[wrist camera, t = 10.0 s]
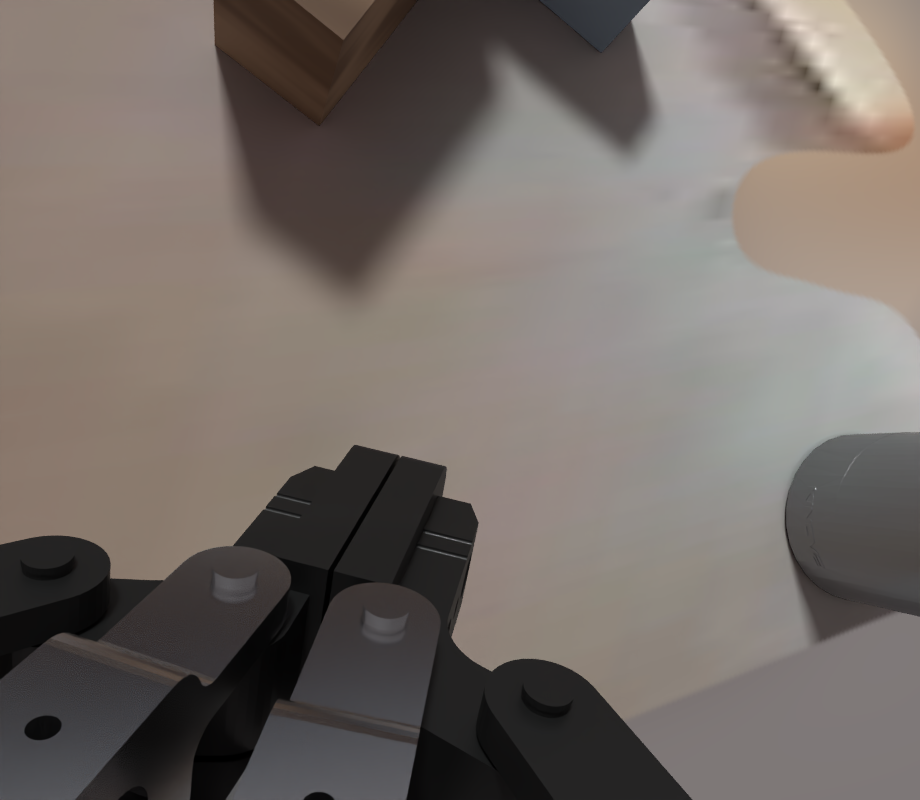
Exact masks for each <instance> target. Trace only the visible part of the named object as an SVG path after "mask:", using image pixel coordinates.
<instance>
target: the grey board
mask: <svg viewBox="0 0 920 800" xmlns="http://www.w3.org/2000/svg"><path fill="white" fill-rule="evenodd" d="M540 1H541V2H542V3H543V4H545V5H546V6H547V7H548V8H549V9H550V10H552V11H553V12H554V13H555V14H556V15H557V16H559V17H560V18H561V19H562V20H563V21H564V22H566V23H567V24H568V25H569V26H570V27H571V28H573V29H574V30H575V31H576V32H577V33H578V34H580V35H581V36H582V37H583V38H584V39H586V40H587V41H588V42H589V43H590V44H591V45H593V46H594V47H595V48H596V49H597V50H598V51H600V52H602V51H603V50H604V49H605V48H606V47H607V46H608V45H609V44H610V43H611V42H612V41H613V39H614V38H615V37H616V36H617V35H618V34H619V33H620V32H621V31H622V30H623V29H624V28H625V27H626V25H627V24H628V23H629V22H630V21H631V20H632V19H633V18H634V17H635V16H636V15H637V14H638V13H639V11H640V10H641V9H642V8H643V7H644V6H645V5H646V4H647V3H648V2H649V1H650V0H540Z"/></svg>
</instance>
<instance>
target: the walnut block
mask: <svg viewBox="0 0 920 800" xmlns="http://www.w3.org/2000/svg"><path fill="white" fill-rule="evenodd" d="M417 1H418V0H214V31H215V45H216V46H217V47H218V48H220V49H221V50H222V51H223V52H225V53H226V54H227V55H229V56H230V57H231V58H232V59H234V60H235V61H236V62H238V63H239V64H240V65H241V66H243V67H244V68H245V69H247V70H248V71H249V72H250V73H252V74H253V75H254V76H256V77H257V78H258V79H259V80H261V81H262V82H263V83H265V84H266V85H267V86H268V87H270V88H271V89H272V90H274V91H275V92H276V93H277V94H279V95H280V96H281V97H283V98H284V99H285V100H286V101H288V102H289V103H290V104H292V105H293V106H294V107H295V108H297V109H298V110H299V111H301V112H302V113H303V114H304V115H306V116H307V117H308V118H310V119H311V120H312V121H313V122H315V123H316V124H317V125H319V126H320V124H321V123H322V122H323V121H324V119H325V118H326V117H327V116H328V114H329V113H330V112H331V110H332V109H333V108H334V107H335V105H336V104H337V103H338V102H339V100H340V99H341V98H342V96H343V95H344V94H345V93H346V91H347V90H348V89H349V87H350V86H351V85H352V84H353V82H354V81H355V80H356V79H357V77H358V76H359V75H360V73H361V72H362V71H363V70H364V68H365V67H366V66H367V64H368V63H369V62H370V61H371V59H372V58H373V57H374V56H375V54H376V53H377V52H378V50H379V49H380V48H381V47H382V45H383V44H384V43H385V42H386V40H387V39H388V38H389V36H390V35H391V34H392V33H393V31H394V30H395V29H396V27H397V26H398V25H399V24H400V22H401V21H402V20H403V19H404V17H405V16H406V15H407V13H408V12H409V11H410V10H411V8H412V7H413V6H414V4H415V3H416V2H417Z"/></svg>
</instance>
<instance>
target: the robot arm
mask: <svg viewBox="0 0 920 800" xmlns="http://www.w3.org/2000/svg"><path fill="white" fill-rule="evenodd" d="M446 470H447V468H446V466H442V465H438V464H434V463H430V462H425V461H421V460H417V459H413V458H409V457H405V456H401V458H400V456H399V455H396V454H391V453H387V452H383V451H379V450H375V449H371V448H366V447H362V446H358V445H354V446H353V447H352V448H351V449H350V451H349V452H348V453H347V455H346V456H345V458H344V459H343V460H342V462H341V463H340V464H339V466H338V467H337V468H336V470H335V471H333V470H329V469H325V468H321V467H317V466H314V467H312V468H310V469H307V470H305V471H303V472H301V473H298V474H296V475H294V476H292V477H290V478H289V480H288V481H287V482H286V483H285V484H284V486H283V487H282V488H281V489H280V490H279V492H278V493H277V496H274V497H273V499H272V500H271V501H270V502H269V503H268V505H267V506H266V509H265V510H263V511H262V512H261V513H260V514H259V515H258V517H257V518H256V519H255V520H254V521H253V523H252V524H251V525H250V526H249V527H248V529H247V530H246V531H245V532H244V533H243V534H242V536H241V537H240V538H239V539H238V540H237V542H236V543H235V544H234V545H233V546H225V547H217V548H212V549H208V550H204V551H202V552H199V553H197V554H195V555H193V556H191V557H190V558H188V559H187V560H186V561H184V562H183V563H182V564H181V565H180V566H179V567H178V568H177V569H176V570H175V571H174V572H173V573H171V574H170V575H169V576H168V577H167V578H166V579H165V580H132V579H110V559H109V556H108V555H107V553H106V552H105V551H104V550H103V549H102V548H101V547H99V546H98V545H96V544H94V543H92V542H90V541H87V540H84V539H81V538H76V537H70V536H41V537H34V538H29V539H24V540H20V541H15V542H11V543H6V544H2V545H0V800H692V799H691V798H690V797H689V795H688V794H687V793H686V792H685V791H684V790H683V789H682V788H681V786H680V785H679V784H678V783H677V782H676V781H675V780H674V778H673V777H672V776H671V775H670V774H669V773H668V772H667V770H666V769H665V768H664V767H663V766H662V765H661V764H660V762H659V761H658V760H657V759H656V758H655V757H654V755H653V754H652V753H651V752H650V751H649V750H648V748H647V747H646V746H645V745H644V744H643V743H642V742H641V741H640V739H639V738H638V737H637V736H636V735H635V734H634V732H633V731H632V730H631V729H630V728H629V727H628V726H627V724H626V723H625V722H624V721H623V720H622V719H621V718H620V716H619V715H618V714H617V713H616V712H615V711H614V710H613V708H612V707H611V706H610V705H609V704H608V703H607V702H606V700H605V699H604V698H603V697H602V696H601V695H600V694H599V692H598V691H597V690H596V689H595V688H594V687H593V686H592V685H591V684H590V683H589V682H588V681H587V680H586V679H584V678H583V677H582V676H580V675H579V674H577V673H576V672H574V671H572V670H570V669H568V668H566V667H564V666H562V665H559V664H556V663H553V662H549V661H544V660H538V659H519V660H513V661H510V662H506V663H504V664H502V665H500V666H498V667H497V668H496V669H494V670H493V671H492V672H491V671H489V670H487V669H486V668H484V667H482V666H480V665H479V664H477V663H475V662H473V661H472V660H471V659H470V658H468V657H467V656H466V655H465V654H464V653H463V652H461V651H460V650H459V648H458V647H457V646H456V645H455V643H454V642H453V640H452V638H451V636H452V633H453V630H454V626H455V623H456V620H457V617H458V613H459V610H460V607H461V604H462V599H463V594H464V589H465V585H466V580H467V575H468V570H469V566H470V561H471V556H472V552H473V547H474V542H475V537H476V533H477V528H478V520H477V518H476V516H475V513H474V511H473V508H472V506H471V504H469V503H465V502H461V501H457V500H453V499H449V498H445V497H442V495H443V490H444V484H445V479H446ZM786 527H787V532H788V537H789V542H790V545H791V548H792V550H793V553H794V555H795V558H796V560H797V562H798V563H799V565H800V566H801V568H802V569H803V571H804V572H805V574H806V575H807V576H808V577H809V578H810V579H811V580H812V581H813V582H814V583H815V584H816V585H817V586H818V587H820V588H822V589H823V590H825V591H826V592H828V593H829V594H831V595H834V596H837V597H840V598H843V599H847V600H851V601H856V602H860V603H864V604H869V605H873V606H877V607H882V608H886V609H891V610H894V611H898V612H902V613H907V614H912V615H916V616H920V432H912V433H911V432H904V433H877V434H854V435H843V436H839V437H836V438H834V439H831V440H828V441H826V442H825V443H823V444H822V445H820V446H819V447H817V448H816V449H814V450H813V451H812V452H811V454H810V455H809V456H808V457H807V458H806V459H805V460H804V461H803V463H802V464H801V466H800V467H799V469H798V471H797V472H796V474H795V476H794V479H793V482H792V484H791V487H790V490H789V494H788V500H787V506H786Z"/></svg>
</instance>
